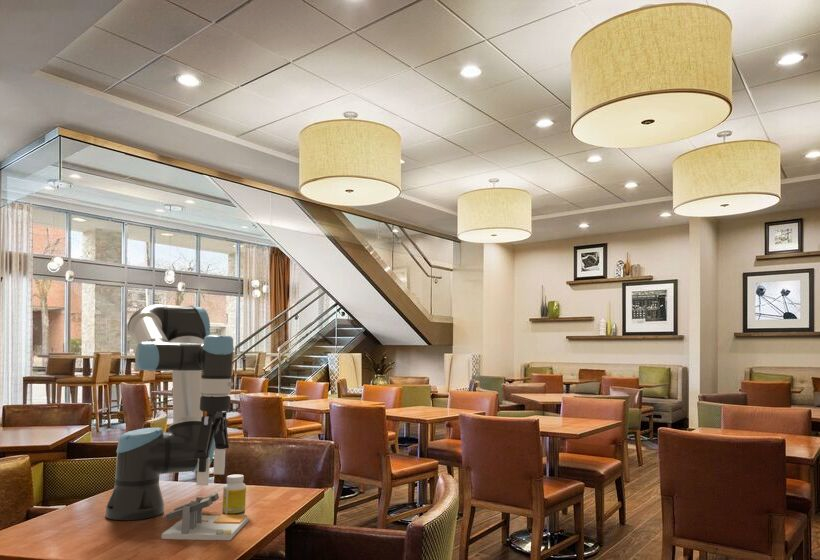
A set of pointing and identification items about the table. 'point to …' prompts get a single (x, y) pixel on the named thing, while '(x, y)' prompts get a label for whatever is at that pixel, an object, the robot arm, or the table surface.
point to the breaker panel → (205, 526)
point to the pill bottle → (234, 495)
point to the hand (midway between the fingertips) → (210, 479)
